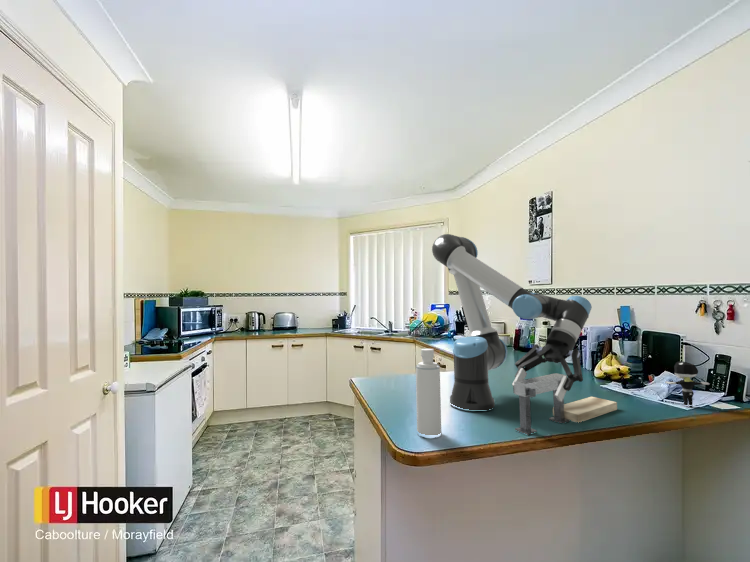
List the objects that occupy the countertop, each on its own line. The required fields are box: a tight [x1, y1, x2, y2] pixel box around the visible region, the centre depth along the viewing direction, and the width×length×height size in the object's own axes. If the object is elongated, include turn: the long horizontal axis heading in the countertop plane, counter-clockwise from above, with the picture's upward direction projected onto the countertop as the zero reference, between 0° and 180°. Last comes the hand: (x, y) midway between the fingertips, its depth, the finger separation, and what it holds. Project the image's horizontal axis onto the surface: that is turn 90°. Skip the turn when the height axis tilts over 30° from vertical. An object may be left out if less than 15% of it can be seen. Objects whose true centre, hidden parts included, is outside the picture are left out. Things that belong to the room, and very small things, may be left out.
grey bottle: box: [415, 348, 442, 435], centre depth 95 cm, size 7×7×25 cm
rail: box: [513, 372, 568, 397], centre depth 99 cm, size 4×20×4 cm, turn 120°
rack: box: [512, 385, 570, 436], centre depth 99 cm, size 6×20×12 cm, turn 120°
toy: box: [664, 360, 710, 406], centre depth 115 cm, size 13×6×15 cm, turn 84°
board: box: [552, 396, 618, 424], centre depth 110 cm, size 8×23×2 cm, turn 120°
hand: (535, 392), depth 98 cm, fingers open, 13 cm apart
